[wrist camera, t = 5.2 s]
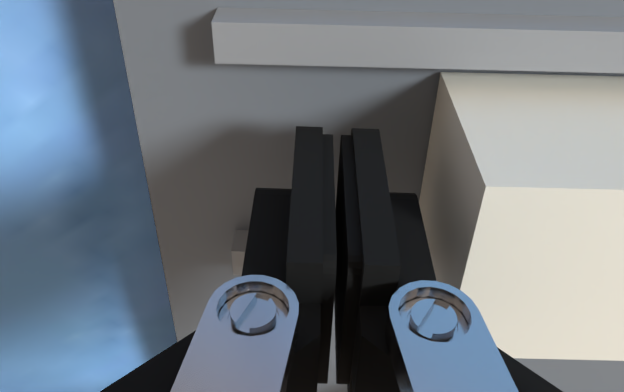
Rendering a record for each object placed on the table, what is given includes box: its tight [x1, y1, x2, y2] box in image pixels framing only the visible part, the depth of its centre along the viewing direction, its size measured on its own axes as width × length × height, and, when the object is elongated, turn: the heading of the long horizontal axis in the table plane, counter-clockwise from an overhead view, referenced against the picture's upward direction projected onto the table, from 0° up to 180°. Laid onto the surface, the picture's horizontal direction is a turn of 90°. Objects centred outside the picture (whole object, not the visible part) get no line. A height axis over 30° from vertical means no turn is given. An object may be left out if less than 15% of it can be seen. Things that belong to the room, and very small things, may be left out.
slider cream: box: [419, 72, 624, 361], centre depth 11 cm, size 4×4×4 cm
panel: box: [113, 0, 624, 392], centre depth 16 cm, size 20×17×4 cm
